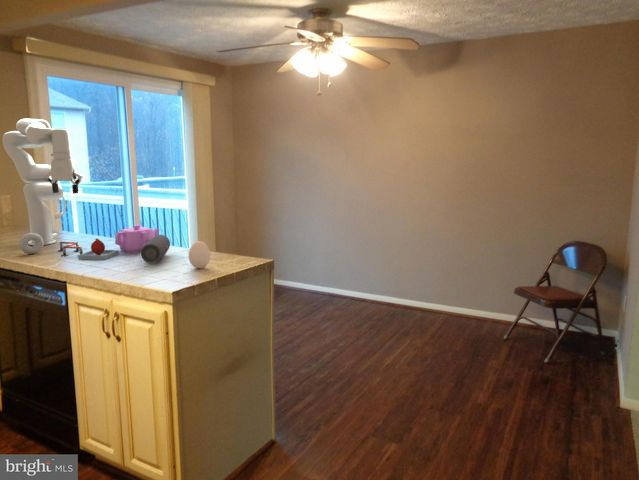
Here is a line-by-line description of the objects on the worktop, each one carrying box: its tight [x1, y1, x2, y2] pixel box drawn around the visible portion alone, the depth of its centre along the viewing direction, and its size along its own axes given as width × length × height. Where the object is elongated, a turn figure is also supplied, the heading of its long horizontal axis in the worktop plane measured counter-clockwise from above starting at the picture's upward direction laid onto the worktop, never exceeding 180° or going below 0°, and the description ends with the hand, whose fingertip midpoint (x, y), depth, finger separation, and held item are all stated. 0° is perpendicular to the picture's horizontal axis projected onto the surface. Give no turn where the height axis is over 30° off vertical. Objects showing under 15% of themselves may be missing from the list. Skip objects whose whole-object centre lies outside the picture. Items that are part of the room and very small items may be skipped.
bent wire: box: [57, 241, 84, 258], centre depth 216 cm, size 13×19×4 cm
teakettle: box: [114, 224, 160, 254], centre depth 225 cm, size 17×17×12 cm
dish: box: [77, 249, 120, 261], centre depth 211 cm, size 12×12×2 cm
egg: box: [188, 240, 211, 269], centre depth 190 cm, size 9×9×12 cm
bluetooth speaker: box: [140, 234, 171, 264], centre depth 205 cm, size 23×9×10 cm, turn 8°
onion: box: [90, 238, 106, 255], centre depth 210 cm, size 6×6×8 cm
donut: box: [18, 232, 44, 255], centre depth 214 cm, size 10×4×10 cm, turn 139°
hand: (65, 192), depth 218 cm, fingers open, 9 cm apart
